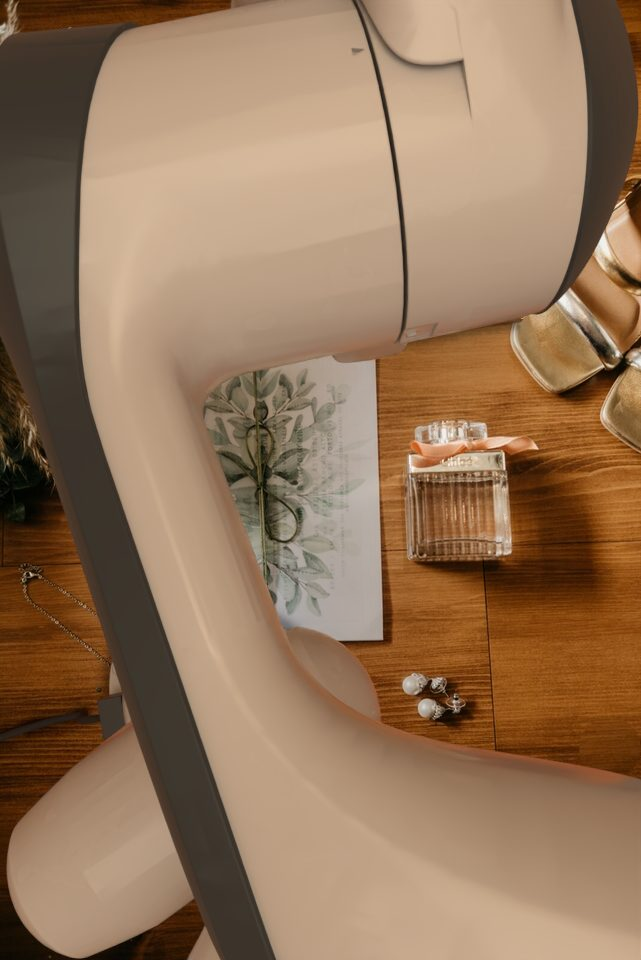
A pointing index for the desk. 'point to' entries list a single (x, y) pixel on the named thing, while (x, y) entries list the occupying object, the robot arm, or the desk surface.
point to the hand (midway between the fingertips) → (337, 224)
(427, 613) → the desk surface
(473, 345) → the desk surface
